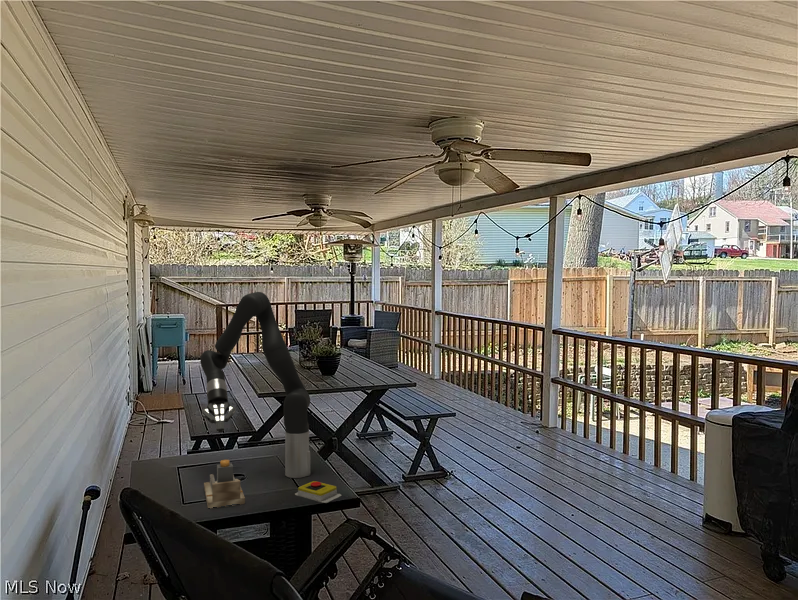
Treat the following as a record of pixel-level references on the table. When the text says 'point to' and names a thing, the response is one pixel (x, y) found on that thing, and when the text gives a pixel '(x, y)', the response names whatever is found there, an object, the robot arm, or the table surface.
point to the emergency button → (318, 492)
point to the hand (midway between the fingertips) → (220, 431)
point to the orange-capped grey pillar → (224, 471)
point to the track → (223, 493)
